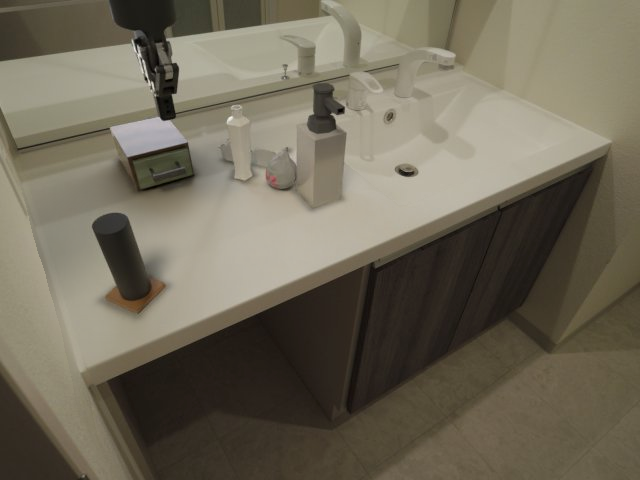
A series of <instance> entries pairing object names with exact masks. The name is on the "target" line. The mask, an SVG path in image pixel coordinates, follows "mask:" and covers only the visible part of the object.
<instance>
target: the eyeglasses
mask: <svg viewBox="0 0 640 480" xmlns="http://www.w3.org/2000/svg"><path fill="white" fill-rule="evenodd" d="M228 141H229V138H227V140H225V141H223V142H221V144H220V145H217V146H218V147H217V148H218V149H220V152H221V155H222V158H223V159H224V160H225V161H228V162H233V163H234V161H233V156H232V151H231V146H230V143H229V144H228V143H226V142H228ZM284 150H287V152H288V151H289V147H288V146H286V147H285V149H284ZM250 152H251V155H252V159H253V162H254V163H255V164H256V165H258V166H260V167H263V168H266V167H267V165H268V163H269V161H270V160H272V159H273V158H274V156H275V155H276V154H277V153H276V152H275V151H274V150H273V151H272V150H268V149H264V148H263V149H262V148H253V149H252V150H251V149H250Z"/></svg>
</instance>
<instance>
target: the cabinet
mask: <svg viewBox="0 0 640 480" xmlns="http://www.w3.org/2000/svg"><path fill="white" fill-rule="evenodd" d="M109 130H110V132H111V136H112V138H113V142H114V145H115V148H116V151H117V154H118V157H119V160H120V162H121V163H122V166H123V167H124V169H125V171H126V173H127V175H128V176H129V178H130V180H131V182H132V183H133V185H134V188H135V189H136V191H138V192H139V191H142V190H145V189H150V188H152V187H156V186H159V185H164V184H167V183H170V182H173V181H177V180H180V179H184V178H188V177H192V176H194V175H195V172H194V167H193V161H192V157H191V150H190V146H189V142H188V140H186V139H187V138H185V137H184V135H183V134H182V133H181V132H180V130H179V129H178V128H177V127H176V125H174V123H173V122H172V121H171V120H167V121H162V120H161V119H160V117H159V116H156V117H151V118H147V119H142V120H138V121H132V122H128V123H122V124H118V125H113V126H109ZM185 147H186V148H187V149H188V153H189V158H190V163H191V168H192V174H193V175H190V176H187V177H183V178H179V179H176V180H172V181H169V182H165V183H162V184H158V185H155V186H151V187H147V188H144V189H141V188H140V186H139V183H138V180H137V176H136V173H135V170H134V166H133V163H132V161H133V160H134V159H138V158H142V157H146V156H150V155H154V154H158V153H162V152H166V151H170V150H174V149H178V148H185Z"/></svg>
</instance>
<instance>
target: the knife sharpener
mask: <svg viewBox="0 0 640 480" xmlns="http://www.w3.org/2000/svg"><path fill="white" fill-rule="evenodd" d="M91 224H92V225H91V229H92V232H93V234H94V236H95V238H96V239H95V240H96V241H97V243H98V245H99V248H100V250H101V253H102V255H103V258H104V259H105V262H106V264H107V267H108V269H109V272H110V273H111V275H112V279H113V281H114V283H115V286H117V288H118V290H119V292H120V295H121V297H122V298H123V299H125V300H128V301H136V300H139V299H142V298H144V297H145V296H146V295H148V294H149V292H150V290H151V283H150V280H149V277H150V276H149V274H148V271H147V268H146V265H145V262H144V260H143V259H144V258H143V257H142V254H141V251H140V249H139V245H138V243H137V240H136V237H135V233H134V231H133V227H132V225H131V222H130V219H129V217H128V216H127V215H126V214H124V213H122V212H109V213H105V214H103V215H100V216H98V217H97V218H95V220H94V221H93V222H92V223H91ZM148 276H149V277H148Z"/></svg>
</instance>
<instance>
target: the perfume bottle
mask: <svg viewBox="0 0 640 480" xmlns="http://www.w3.org/2000/svg"><path fill="white" fill-rule="evenodd" d="M230 109H231V116H229V117H228V118H227V120H226V123H225V125H226V130H227V134H228V139H229V140H228V141H229V144H230V146H231V151H232V156H233V161H234V162H233V166H234V179H236V180H241V181H247V180H248V179H250V178H251V177H253V176H254V175H253V172H252V169H251V151H250V150H251V120H250V119H248V118H247V117H246V115H243V106H242V105H240V104H232V105H231V107H230Z"/></svg>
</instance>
